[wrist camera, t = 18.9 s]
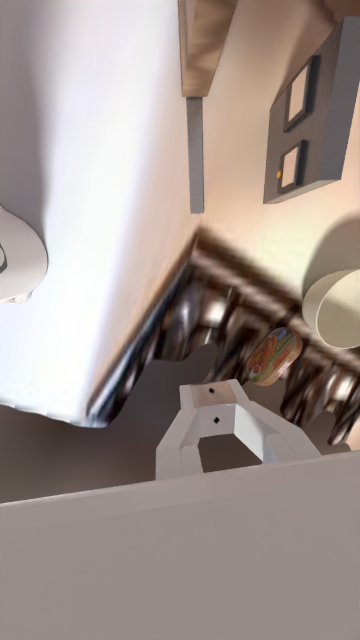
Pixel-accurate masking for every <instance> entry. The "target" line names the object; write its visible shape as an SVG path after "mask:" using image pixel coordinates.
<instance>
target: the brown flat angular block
mask: <svg viewBox="0 0 360 640" xmlns="http://www.w3.org/2000/svg"><path fill="white" fill-rule="evenodd" d="M237 1H238V0H178V16H179V39H180V62H181V85H182V97H206V96H207V95H208V92H209V89H210V86H211V83H212V79H213V76H214V73H215V70H216V67H217V64H218V61H219V57H220V54H221V51H222V48H223V45H224V42H225V38H226V35H227V32H228V29H229V26H230V23H231V19H232V16H233V13H234V10H235V7H236V4H237Z"/></svg>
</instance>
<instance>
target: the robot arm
mask: <svg viewBox="0 0 360 640" xmlns="http://www.w3.org/2000/svg"><path fill="white" fill-rule="evenodd" d="M47 264H48V263H47V254H46V250H45V248H44V245H43V243H42V241H41V239H40V238H39V236H38V235H37V234H36V232H35V231H34V230H33V229H32V228H31V227H30V226H29V225H28V224H27V223H25V222H24V221H23V220H21V219H20V218H18V217H16V216H14V215H13V214H11V213H9V212H7V211H6V210H4V209H3V208H2V207H1V205H0V303H11V304H24V303H26V302H28V300H29V298H30V295H31V292H32V290H33V289H34V288H35V287H37V286H38V285H39V284H40V283H41V281H42V280H43V278H44V277H45V274H46V271H47ZM14 298H15V299H14ZM180 398H181V410H180V411H179V413H178V414H177V416H176V418H175V419H174V421H173V423H172V424H171V426H170V428H169V429H168V431H167V432H166V434H165V436H164V437H163V439H162V441H161V442H160V444H159V446H158V447H157V449H156V481H150V482H143V483H136V484H130V485H123V486H116V487H110V488H103V489H96V490H90V491H83V492H76V493H70V494H64V495H56V496H50V497H43V498H37V499H30V500H24V501H17V502H10V503H3V504H0V640H360V450H356V451H349V452H342V453H336V454H329V455H323V456H322V455H321V454H320V453H319V451H318V450H317V449H316V447H315V446H314V445H313V444H312V442H311V441H310V440H309V439H308V437H307V436H306V435H305V434H304V432H303V431H302V430H301V429H300V428H298V427H296V426H295V425H293V424H291V423H290V422H288V421H286V420H284V419H283V418H281V417H279V416H278V415H276V414H274V413H272V412H271V411H269V410H267V409H266V408H264V407H262V406H260V405H259V404H257V403H255V402H254V401H249V399H248V397H247V396H246V394H245V392H244V391H243V389H242V387H241V386H240V384H239V382H238V381H237V380H236V379H233V380H226V381H220V382H212V383H202V384H191V385H182V386H180ZM228 433H234V434H235V435H236V436H237V437H238V438H239V439H240V440H241V441H242V442H243V443H244V444H245V445H246V446H247V447H248V448H249V449H250V450H251V451H252V452H254V453H255V454H256V455H257V456H258V457H259V458H260V459H261V460H262V461H263V462H262V465H256V466H249V467H243V468H237V469H230V470H223V471H216V472H209V473H203V470H202V466H201V461H200V456H199V451H198V447H197V444H198V442H199V438H200V437H207V436H213V435H219V434H228Z"/></svg>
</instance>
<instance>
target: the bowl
mask: <svg viewBox="0 0 360 640" xmlns="http://www.w3.org/2000/svg"><path fill="white" fill-rule="evenodd" d="M302 314H303V318H304V320H305V322H306V324H307V325H308V327H309V328H310V329H311V330H312V331H313V332H314V333H315V334H316V335H317V336H318V337H319V338H320V339H321V340H322V341H323V342H324V343H326V344H327V345H329V346H331V347H334V348H339V349H347V348H353V347H356V346H359V345H360V268H354V269H347V270H342V271H337V272H333V273H331V274H328V275H326V276H324V277H322V278H321V279H319V280H318V281H316V282H315V283H314V284H313V285H312V286H311V287H310V289H309V290H308V291H307V293H306V295H305V297H304V300H303V304H302Z"/></svg>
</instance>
